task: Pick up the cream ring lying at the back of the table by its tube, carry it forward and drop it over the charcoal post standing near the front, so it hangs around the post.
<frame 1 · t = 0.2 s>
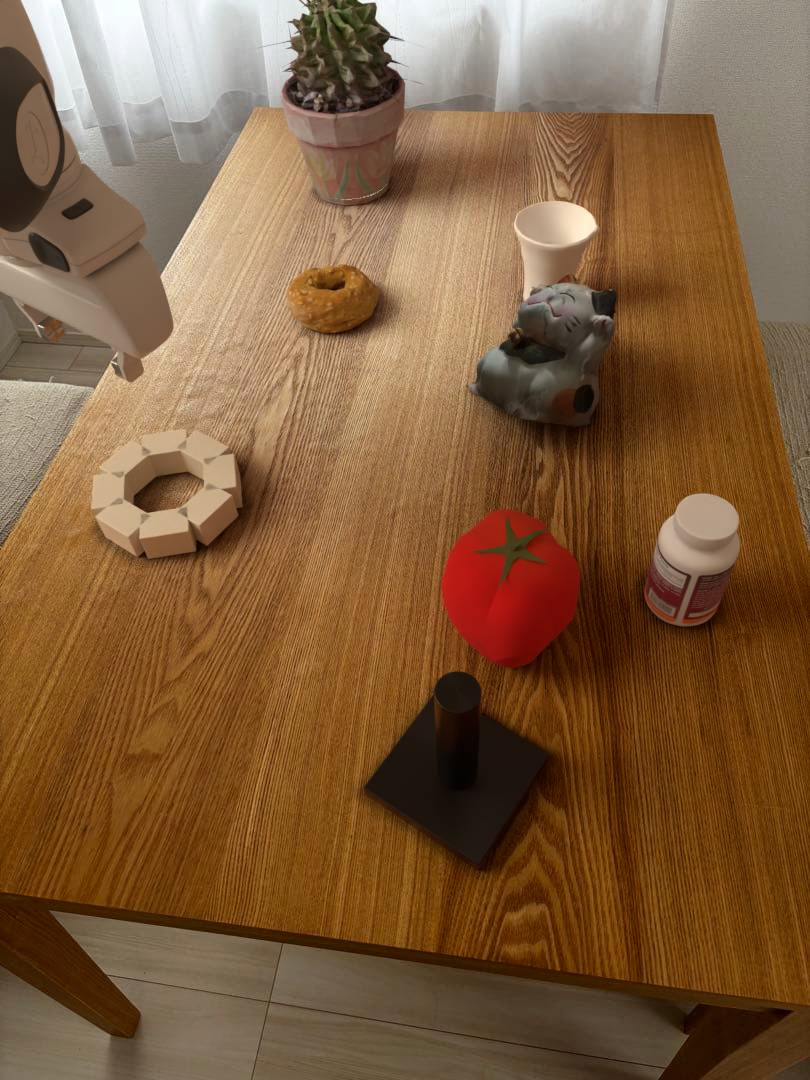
hand: (91, 355, 72), 16 cm above the table, tool pointing down, fingers open, 8 cm apart
tomato: (507, 622, 74), on the table
post: (457, 776, 65), on the table
bagel: (335, 311, 101), on the table
cup: (549, 299, 101), on the table
lucky cat figurine: (537, 395, 91), on the table
ring: (172, 501, 84), on the table
pill bottle: (678, 600, 74), on the table
potted plant: (358, 189, 118), on the table
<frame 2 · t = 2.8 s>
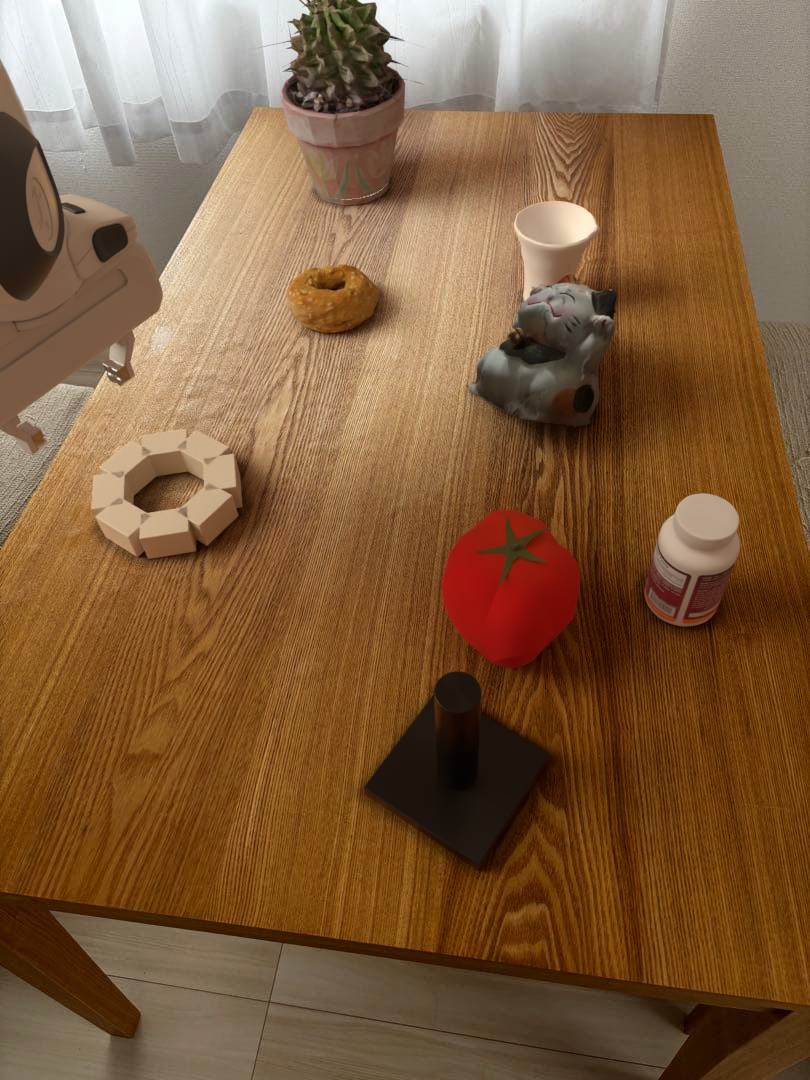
hand: (80, 412, 70), 15 cm above the table, tool pointing down, fingers open, 8 cm apart
nothing on the table moved.
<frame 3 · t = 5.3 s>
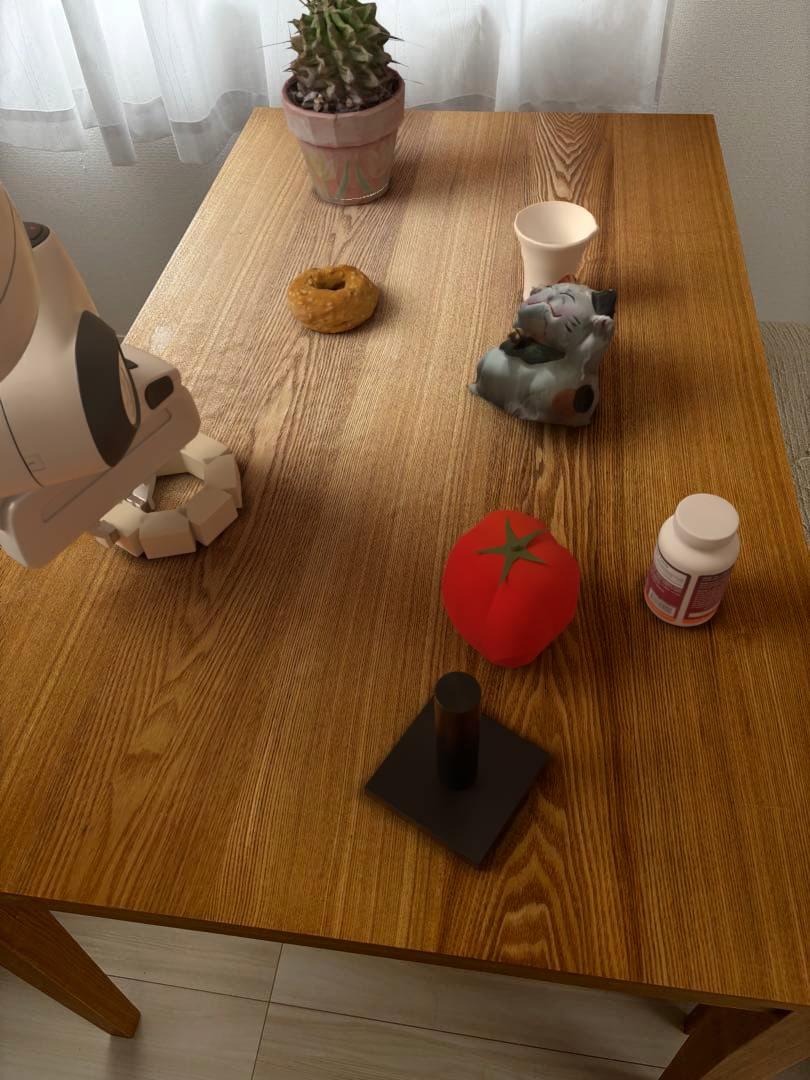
hand: (127, 525, 80), 2 cm above the table, tool pointing down, fingers closed on ring, 3 cm apart
ring: (171, 501, 84), on the table, touching gripper
everything else where it was.
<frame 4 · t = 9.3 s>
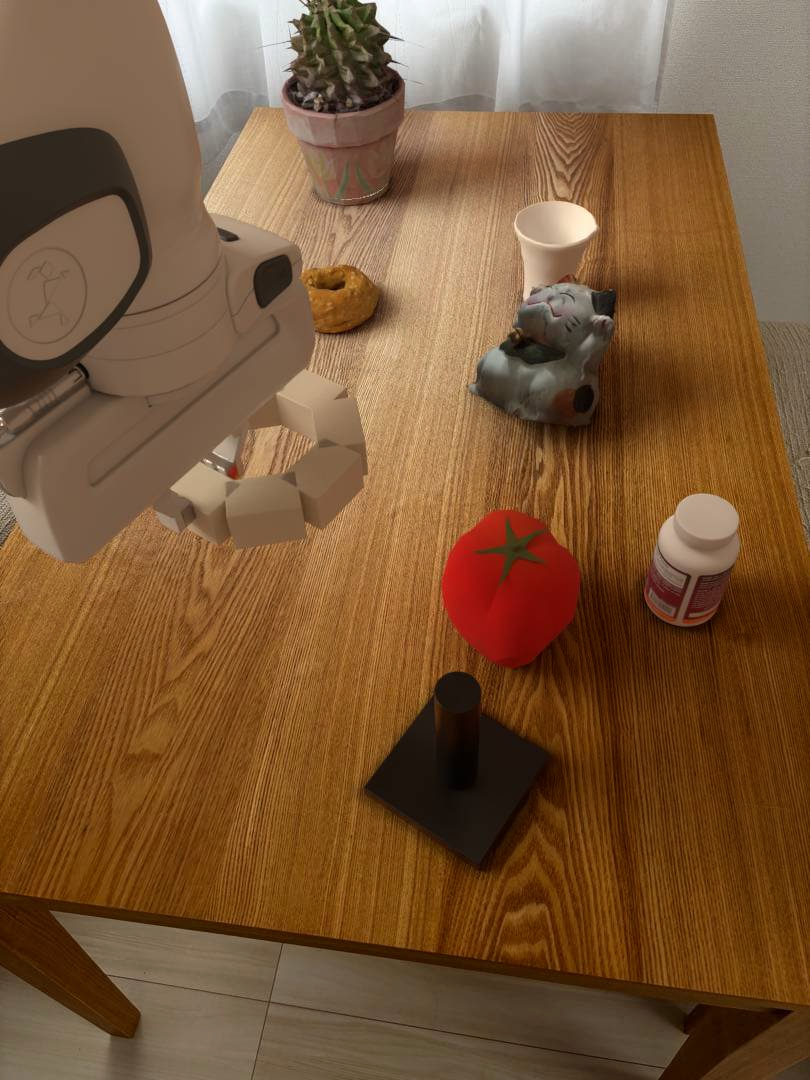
hand: (204, 499, 53), 23 cm above the table, tool pointing down, fingers closed on ring, 3 cm apart
ring: (263, 467, 57), point 21 cm above the table, touching gripper
everything else where it was.
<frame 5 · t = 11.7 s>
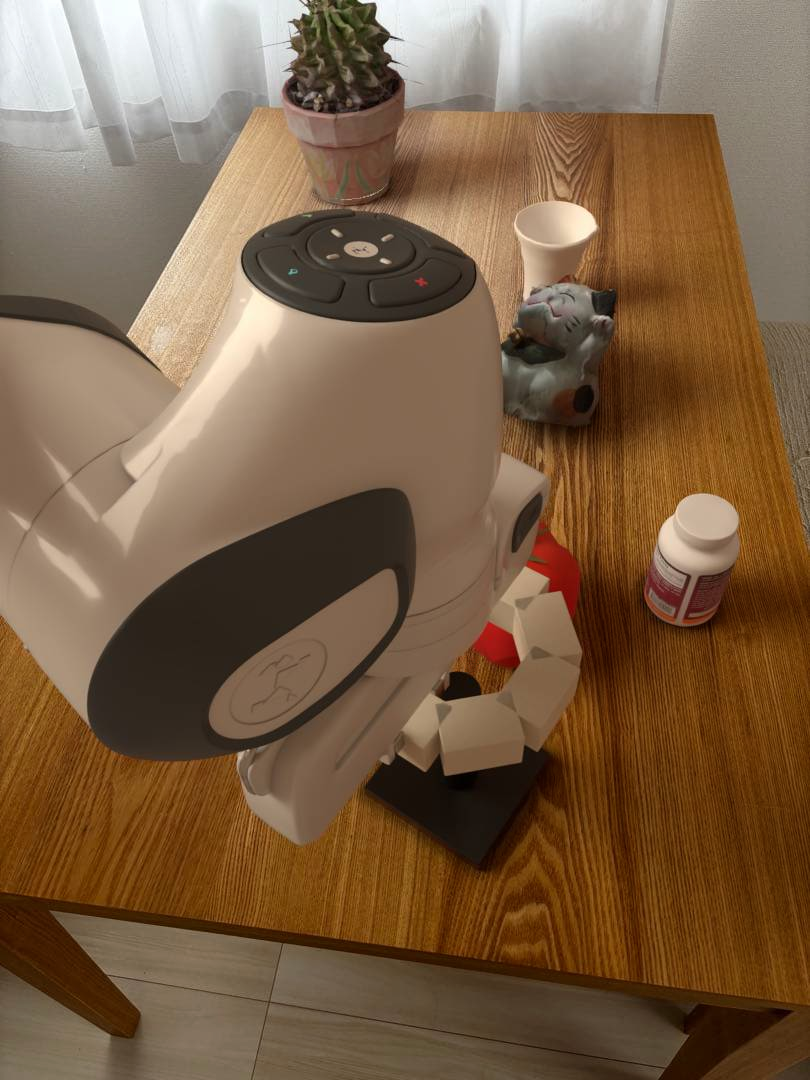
hand: (408, 718, 48), 18 cm above the table, tool pointing down, fingers closed on ring, 3 cm apart
ring: (458, 666, 52), point 16 cm above the table, touching gripper
everything else where it was.
when the fingers open (12 cm above the table, at t = 13.6 s): ring drops 9 cm, resting on post.
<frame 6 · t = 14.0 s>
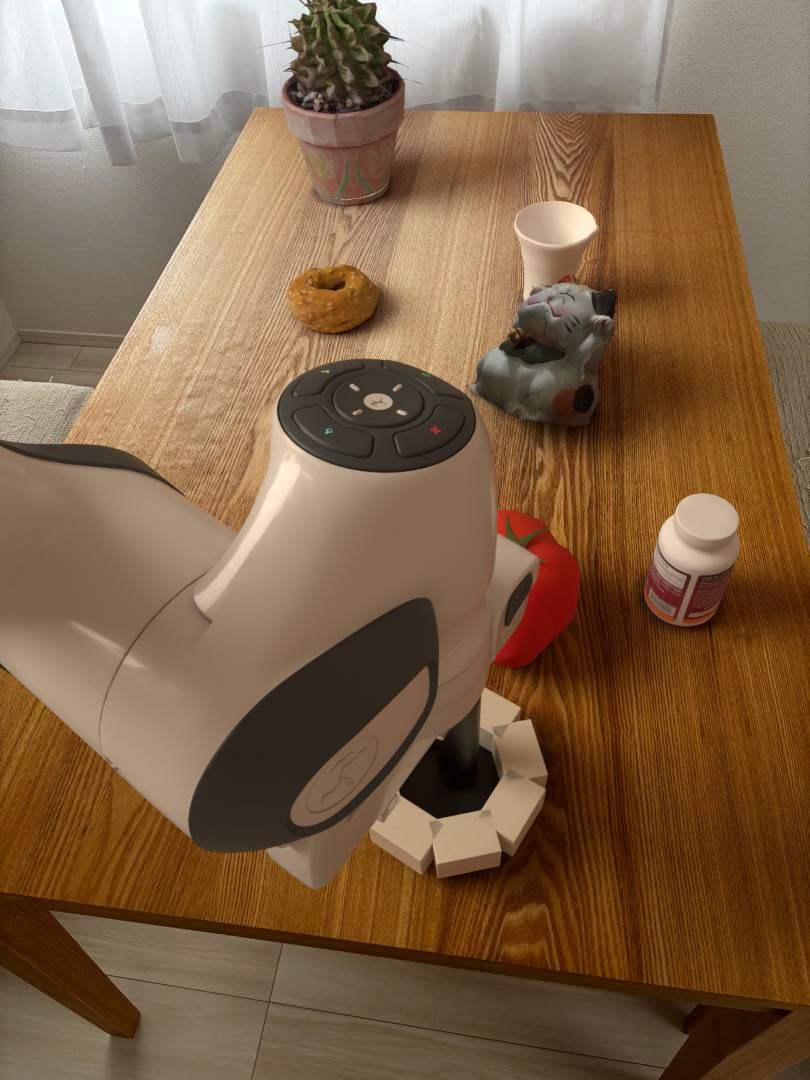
hand: (409, 765, 53), 12 cm above the table, tool pointing down, fingers open, 5 cm apart
ring: (447, 781, 64), point 1 cm above the table, touching post
everything else where it was.
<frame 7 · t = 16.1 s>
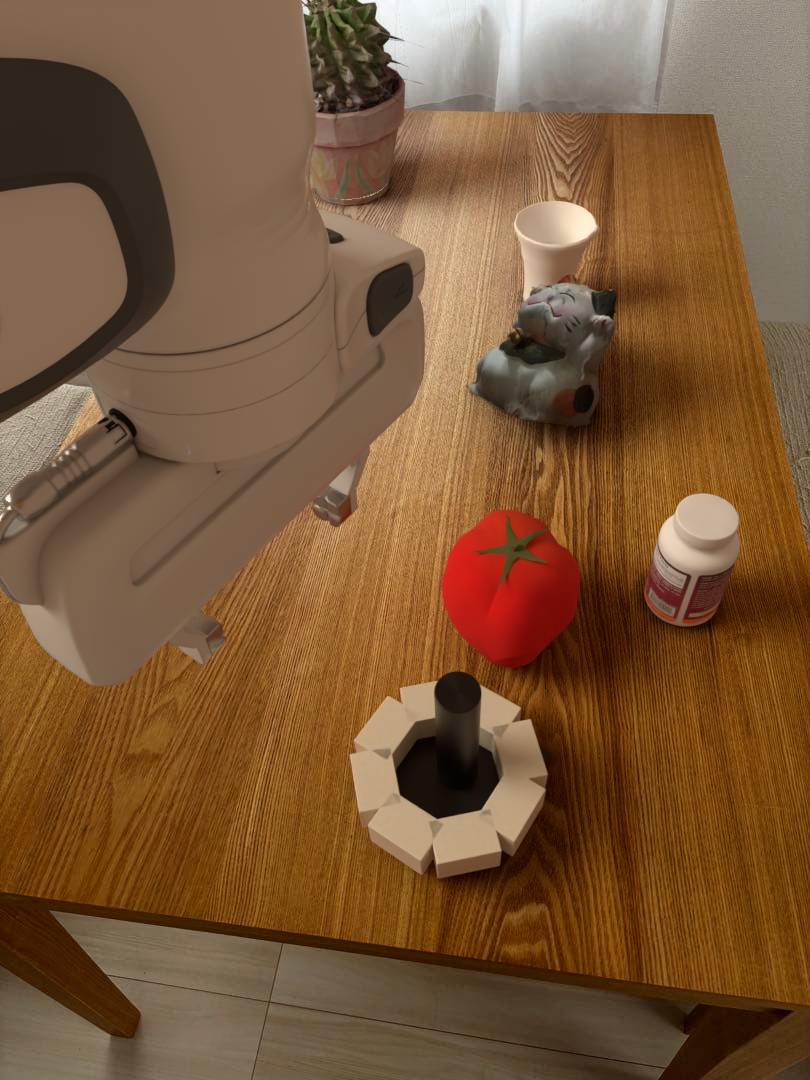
hand: (273, 576, 41), 29 cm above the table, tool pointing down, fingers open, 8 cm apart
nothing on the table moved.
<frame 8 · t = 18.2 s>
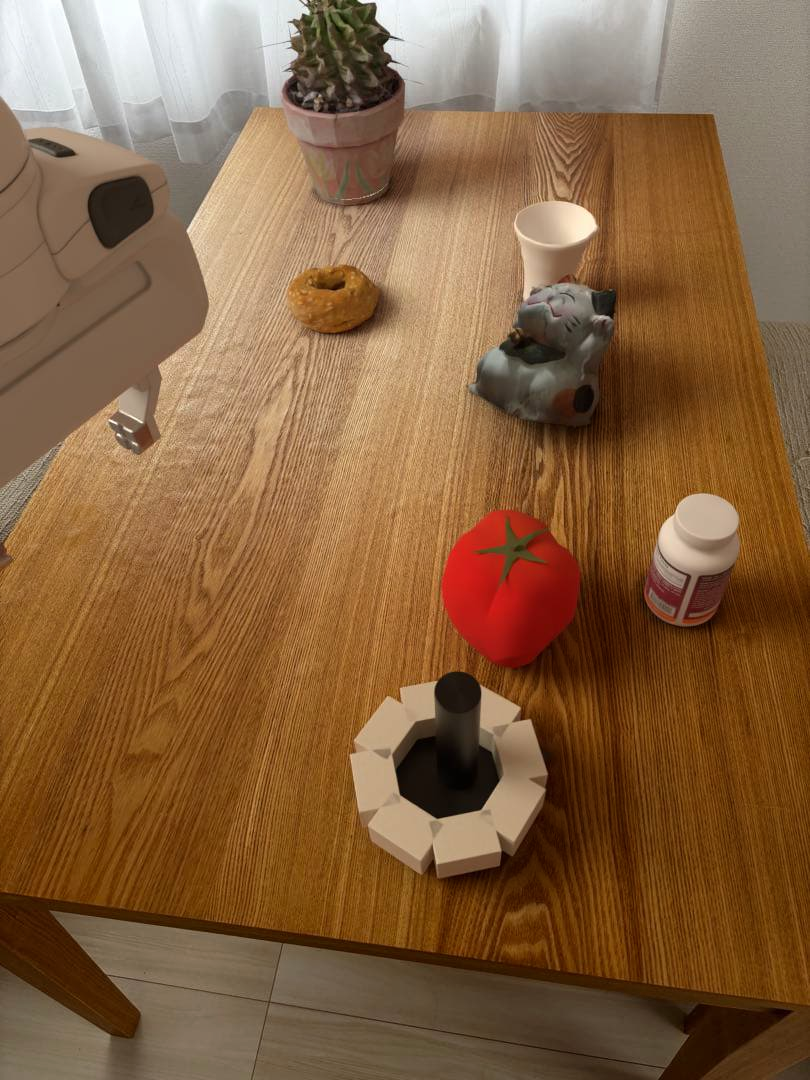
hand: (70, 501, 42), 31 cm above the table, tool pointing down, fingers open, 8 cm apart
nothing on the table moved.
at the end: ring 1.1 cm off-centre on the post, point 1.2 cm above the post's base; the gripper is holding nothing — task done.
